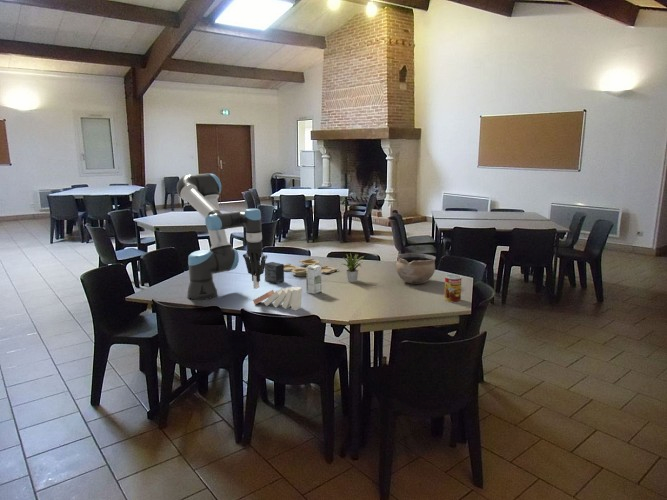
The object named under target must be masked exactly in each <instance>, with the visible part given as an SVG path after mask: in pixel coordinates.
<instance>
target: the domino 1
mask: <svg viewBox="0 0 667 500" xmlns="http://www.w3.org/2000/svg"><path fill="white" fill-rule="evenodd" d="M274 293H275V291H274V290H273V289H272V290H270V291H268V292H266V293H264V294H262V295H260V296H258V297H256V298H254V299H253V300H252V302H253V304H254V305H257V304H259V303H261V302H264V301H266V300H267V299H268V298H269V297H270V296H271V295H272V294H274Z"/></svg>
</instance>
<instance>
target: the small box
mask: <svg viewBox="0 0 667 500" xmlns="http://www.w3.org/2000/svg"><path fill="white" fill-rule="evenodd" d="M284 265H285V264H284V263H279V262H274V261H269V262H265V267H264V281H265V282H267V283H270V284H271V283H272V284H280V283H284V282H285V271H284Z"/></svg>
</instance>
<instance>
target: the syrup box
mask: <svg viewBox="0 0 667 500" xmlns="http://www.w3.org/2000/svg"><path fill="white" fill-rule="evenodd" d="M321 266H322V265H320V264H317V265H315V264H313V265H310V266H307V267H306V266H305V268H306V276H305V277H306V293H308V294H312V295H316V294H319V293H322V273H321Z"/></svg>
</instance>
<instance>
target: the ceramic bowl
mask: <svg viewBox="0 0 667 500" xmlns="http://www.w3.org/2000/svg"><path fill="white" fill-rule="evenodd" d="M396 259H397V260H396V264H395V270H396V273H397V274H398V276H399V278H400V279H401V280H402V281H403V282H405V283H407V284H411V285H421V284H424V283H427V281H429V280H430V279H432V277H433V276H434V274H435V271H436V264H435V263H436V262H435V261H436V259H437V257H436V256H434V255H432V254H427V253H421V252H419V253H418V252H417V253H415V252H414V253H413V252H411V253H410V252H405V253H399V254H397V255H396Z"/></svg>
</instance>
